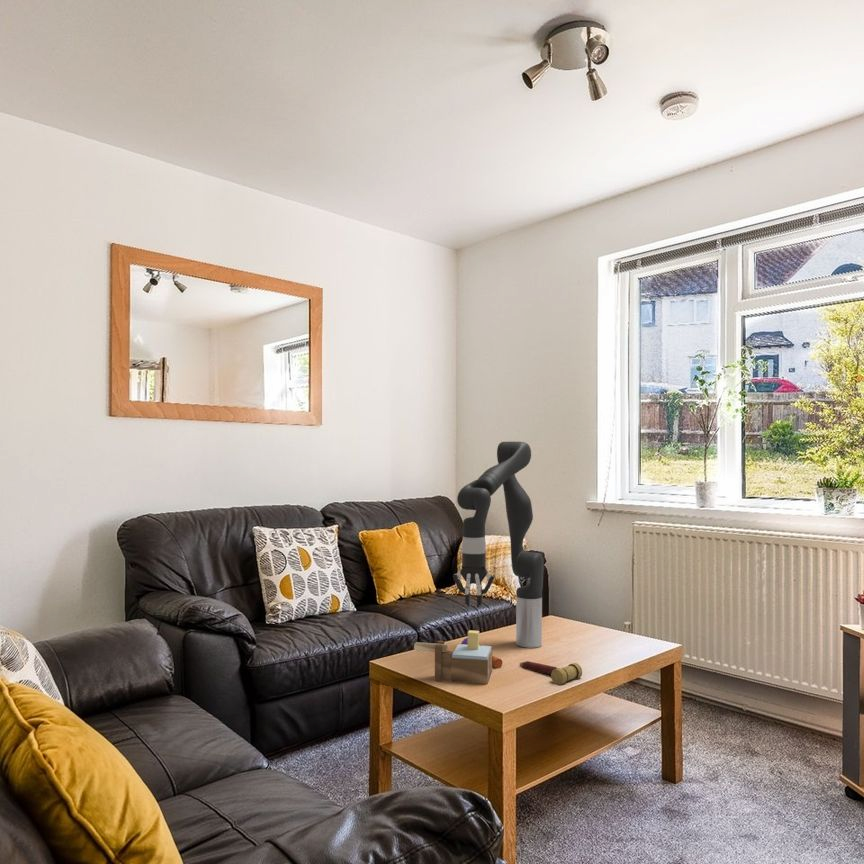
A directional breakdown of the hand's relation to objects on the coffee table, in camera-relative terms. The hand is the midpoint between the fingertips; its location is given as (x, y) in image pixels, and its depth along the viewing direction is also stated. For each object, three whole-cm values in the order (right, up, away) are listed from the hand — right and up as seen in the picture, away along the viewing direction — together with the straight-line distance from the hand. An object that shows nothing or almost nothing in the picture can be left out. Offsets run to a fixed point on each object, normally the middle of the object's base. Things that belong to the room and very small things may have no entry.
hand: (473, 606), depth 211 cm
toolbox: (-3, -21, -3) cm, 21 cm away
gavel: (+23, -22, 0) cm, 31 cm away
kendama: (+3, -22, +14) cm, 26 cm away
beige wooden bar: (-13, -12, -4) cm, 19 cm away
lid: (-1, -15, -3) cm, 15 cm away
